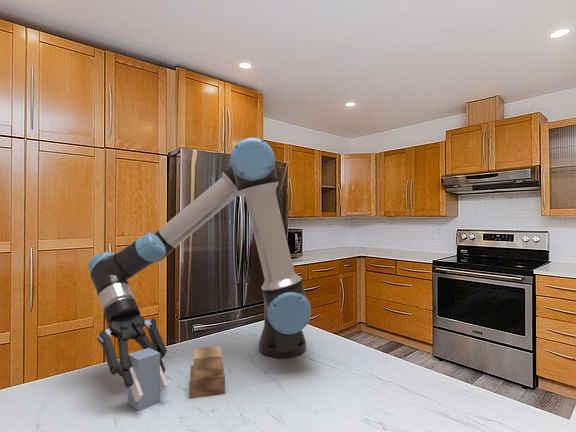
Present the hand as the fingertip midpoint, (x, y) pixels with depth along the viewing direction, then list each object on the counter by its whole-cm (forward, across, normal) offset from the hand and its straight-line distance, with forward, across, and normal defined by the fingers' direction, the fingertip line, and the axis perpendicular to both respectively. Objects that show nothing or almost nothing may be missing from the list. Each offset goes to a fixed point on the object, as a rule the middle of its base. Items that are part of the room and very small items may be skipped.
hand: (152, 392), depth 74 cm
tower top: (+1, -13, +2) cm, 13 cm away
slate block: (0, 0, -5) cm, 5 cm away
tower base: (+4, -13, -1) cm, 14 cm away
